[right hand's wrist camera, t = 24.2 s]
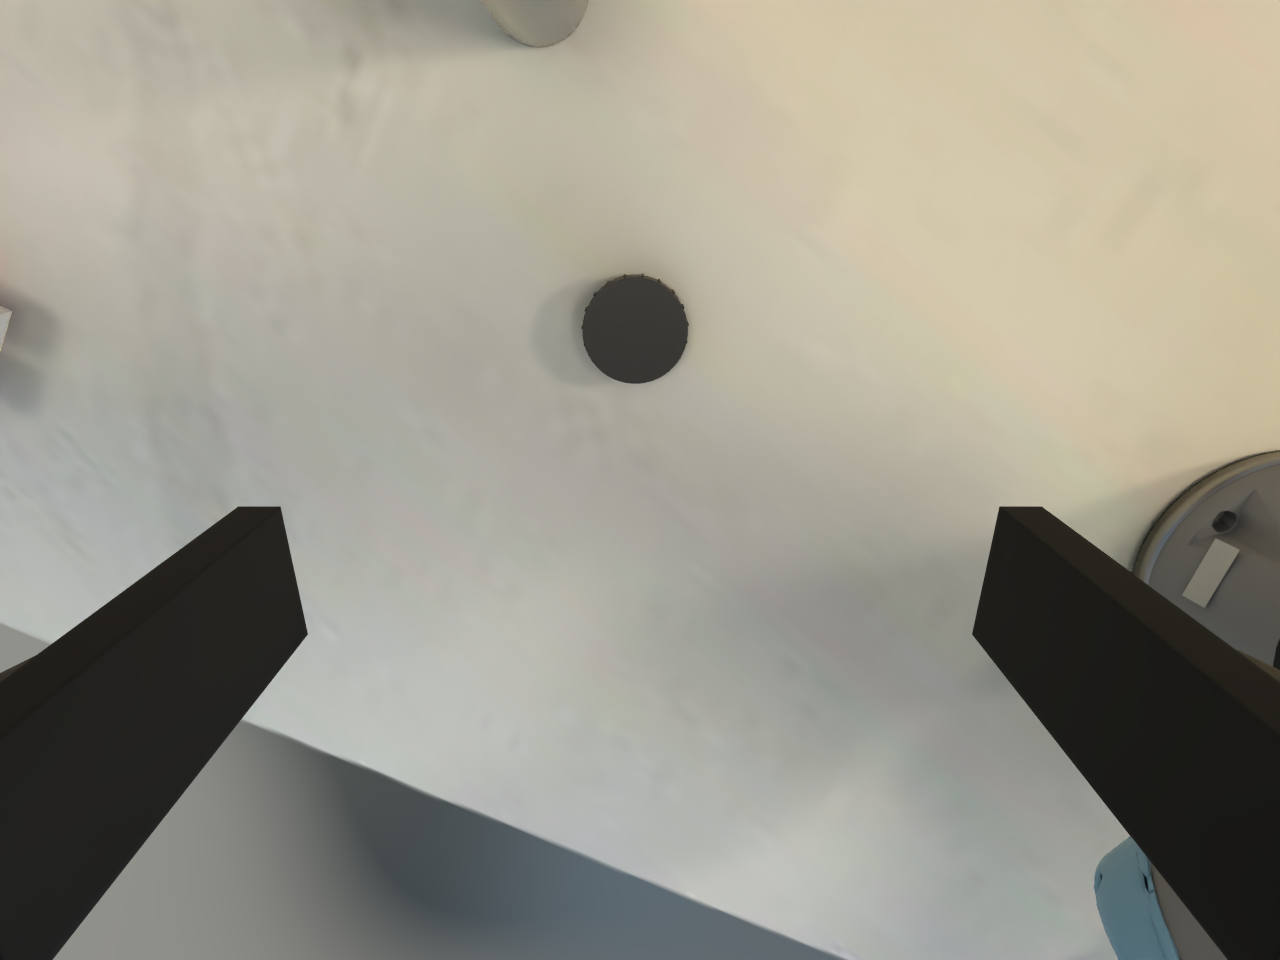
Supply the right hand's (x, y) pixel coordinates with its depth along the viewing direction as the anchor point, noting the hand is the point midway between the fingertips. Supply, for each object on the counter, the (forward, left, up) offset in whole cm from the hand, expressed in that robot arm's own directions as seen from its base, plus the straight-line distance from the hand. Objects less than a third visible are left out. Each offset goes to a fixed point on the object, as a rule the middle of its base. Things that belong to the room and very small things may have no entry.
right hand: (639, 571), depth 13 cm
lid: (0, 0, -26) cm, 26 cm away
